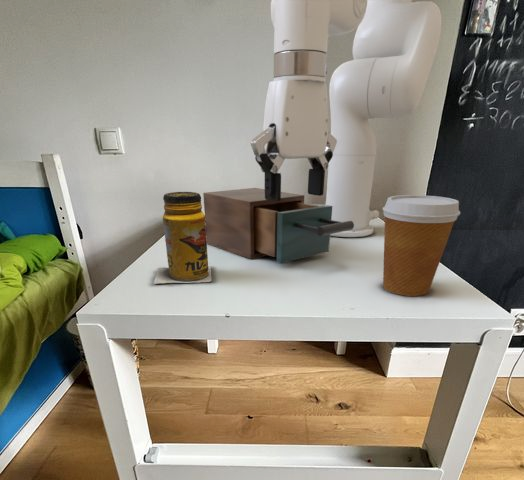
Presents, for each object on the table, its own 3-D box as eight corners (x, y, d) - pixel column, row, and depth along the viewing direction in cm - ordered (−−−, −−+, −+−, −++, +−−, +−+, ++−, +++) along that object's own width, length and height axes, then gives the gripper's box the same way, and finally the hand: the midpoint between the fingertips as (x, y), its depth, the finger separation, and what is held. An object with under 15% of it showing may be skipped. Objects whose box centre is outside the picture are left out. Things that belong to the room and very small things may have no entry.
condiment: (211, 282, 58) (206, 196, 52) (153, 284, 57) (141, 197, 51) (210, 267, 64) (205, 189, 58) (158, 269, 63) (147, 190, 57)
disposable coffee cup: (358, 281, 58) (369, 196, 52) (411, 274, 61) (427, 193, 55) (398, 304, 50) (416, 207, 44) (456, 295, 53) (480, 203, 47)
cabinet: (301, 247, 75) (304, 195, 71) (250, 259, 68) (249, 201, 64) (255, 234, 85) (255, 187, 80) (206, 243, 78) (203, 192, 74)
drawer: (358, 259, 65) (364, 211, 61) (310, 273, 59) (313, 219, 55) (279, 238, 79) (280, 197, 75) (233, 246, 72) (231, 202, 69)
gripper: (321, 78, 63) (314, 190, 71) (235, 68, 54) (239, 199, 62) (358, 73, 58) (346, 195, 66) (270, 61, 49) (269, 205, 57)
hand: (294, 197), depth 64 cm, fingers open, 9 cm apart
